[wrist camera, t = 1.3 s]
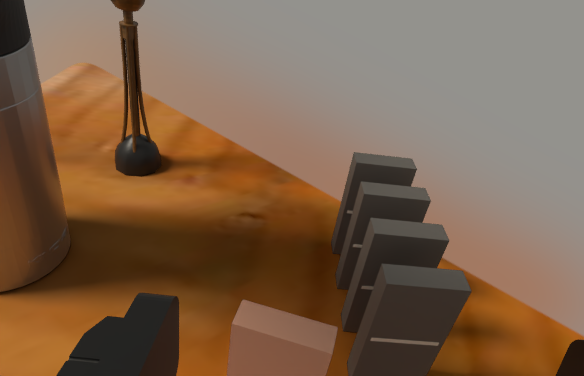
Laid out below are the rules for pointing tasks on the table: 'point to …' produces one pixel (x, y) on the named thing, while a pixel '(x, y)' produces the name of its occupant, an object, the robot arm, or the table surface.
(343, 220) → the charcoal domino
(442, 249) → the charcoal domino
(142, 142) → the wooden tabletop sculpture
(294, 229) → the table surface
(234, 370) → the terracotta domino
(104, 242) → the table surface
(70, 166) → the table surface
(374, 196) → the charcoal domino
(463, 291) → the charcoal domino
